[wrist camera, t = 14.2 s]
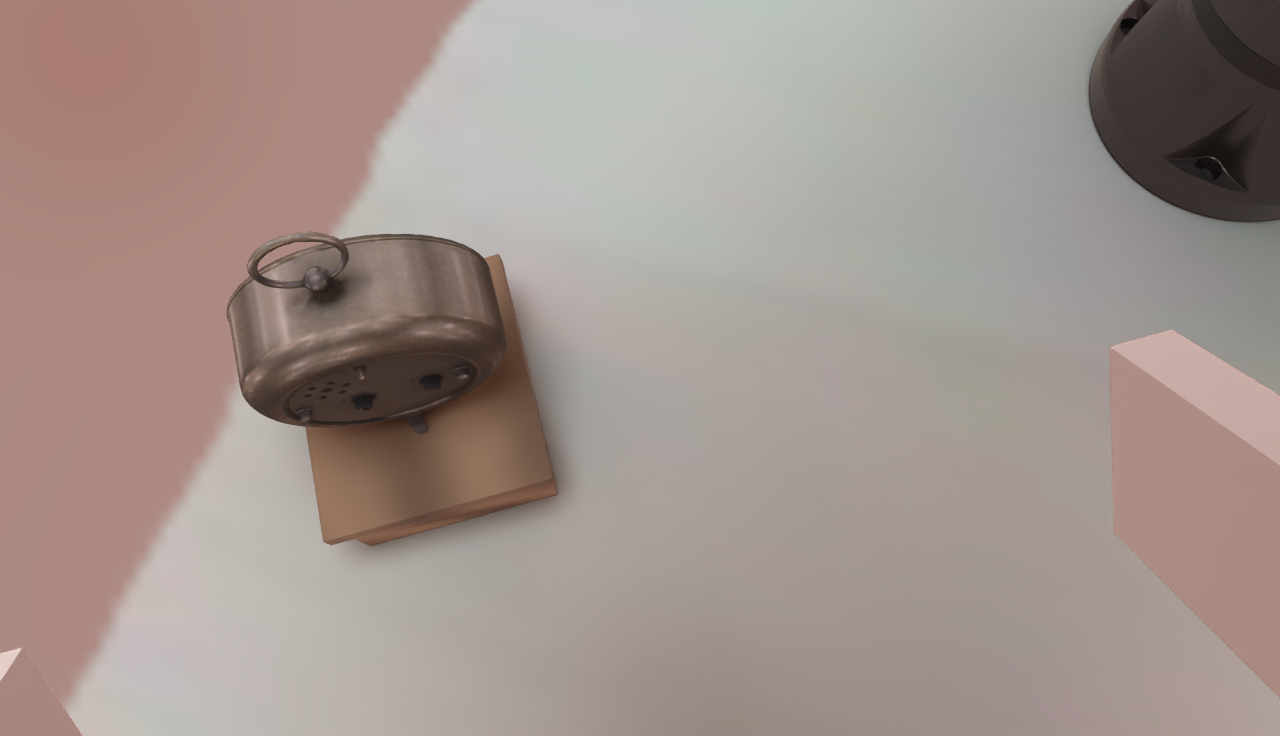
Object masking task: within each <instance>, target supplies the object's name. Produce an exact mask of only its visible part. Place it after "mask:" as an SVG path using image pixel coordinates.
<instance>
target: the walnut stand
mask: <svg viewBox="0 0 1280 736" xmlns="http://www.w3.org/2000/svg"><path fill="white" fill-rule="evenodd" d="M484 259H485V260H486V262H487V264H488V266H489V268H490V272H491V277H492V281H493V285H494V289H495V293H496V297H497V301H498V305H499V309H500V313H501V317H502V321H503V325H504V329H505V333H506V338H507V348H506V352H505V355H504V358H503V360H502V362H501V364H500V365H499V367H498V368H497V370H496V371H495V372H494V373H493V374H492V375H491V376H490V377H489V378H488V379H487V380H486V381H485V382H484V383H482V384H481V385H480V386H478V387H477V388H475V389H473V390H472V391H470V392H468V393H467V394H465V395H463V396H461V397H459V398H457V399H455V400H453V401H450V402H448V403H446V404H443V405H441V406H438V407H435V408H432V409H429V410H426V411H423V412H422V416H423V418H424V421H425V423H426V425H427V427H428V429H427V431H426V432H425V433H422V434H418V433H416V432H415V431H413V429H412V427H411V426H410V424H409V422H408V421H407V420H406V418H397V419H392V420H388V421H383V422H377V423H371V424H365V425H356V426H346V427H306V433H307V439H308V445H309V452H310V458H311V465H312V471H313V478H314V484H315V491H316V497H317V504H318V510H319V517H320V523H321V530H322V536H323V542H325V543H327V544H330V545H333V544H337V543H341V542H344V541H348V540H352V539H356V540H359V541H361V542H363V543H365V544H367V545H370V546H372V545H376V544H379V543H383V542H387V541H390V540H394V539H397V538H401V537H405V536H408V535H412V534H415V533H419V532H423V531H426V530H430V529H434V528H437V527H441V526H444V525H448V524H452V523H455V522H459V521H462V520H466V519H470V518H473V517H477V516H481V515H484V514H488V513H491V512H495V511H499V510H502V509H506V508H509V507H513V506H517V505H520V504H524V503H527V502H531V501H535V500H538V499H542V498H546V497H549V496H553V495H556V494H557V492H556V487H555V483H556V482H555V477H554V473H553V469H552V465H551V461H550V457H549V453H548V448H547V444H546V440H545V436H544V432H543V428H542V423H541V419H540V415H539V411H538V407H537V403H536V398H535V394H534V390H533V386H532V382H531V378H530V373H529V369H528V365H527V361H526V357H525V353H524V348H523V344H522V340H521V336H520V332H519V328H518V324H517V319H516V315H515V311H514V307H513V303H512V299H511V294H510V290H509V286H508V282H507V278H506V274H505V269H504V265H503V262H502V260H501V258H500V256H499V254H498V255H494V256H490V257H487V258H484Z"/></svg>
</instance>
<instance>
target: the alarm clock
mask: <svg viewBox="0 0 1280 736" xmlns="http://www.w3.org/2000/svg"><path fill="white" fill-rule="evenodd" d="M294 242H323V243H324V244H320V245H316V246H313V247H310V248H307V249H304V250H300V251H297V252H295V253H292V254H290V255H287V256H285V257H283V258H281V259H278V260H276V261H274V262H272V263H270V264H268V265H266V266H264V267H263V268H261V269H260V270H258V271H257V266H258V263H259V261H260V260H261V259H262V258H263V257H264V256H265V255H266V254H267V253H269V252H271V251H273V250H274V249H276V248H278V247H281V246H283V245H287V244H291V243H294ZM247 268H248V273H249V275H250V276H249V277H248V278H247V279H245V280H244V282H242V283H241V284H240V285H239V286H238V288H237V289H236V291H235V292H234V293H233V295H232V296H231V298H230V300H229V303H228V306H227V318H228V321H229V323H230V328H231V333H232V340H233V346H234V352H235V358H236V365H237V371H238V377H239V383H240V388H241V391H242V395H243V397H244V398H245V400H246V401H247V402H248V404H249V405H250V406H251V407H252V408H254V409H255V410H256V411H258V412H259V413H261V414H262V415H264V416H266V417H268V418H270V419H273V420H276V421H279V422H282V423H286V424H291V425H297V426H305V427H346V426H356V425H365V424H371V423H377V422H383V421H388V420H392V419H397V418H406V420H407V421H408V422H409V424H410V426H411V427H412V429H413V431H415V432H416V433H418V434H422V433H425V432H426V431H427V429H428V427H427V425H426V423H425V421H424V418H423V416H422V412H423V411H426V410H429V409H432V408H435V407H438V406H441V405H443V404H446V403H448V402H450V401H453V400H455V399H457V398H459V397H461V396H463V395H465V394H467V393H468V392H470V391H472V390H473V389H475V388H477V387H478V386H480V385H481V384H482V383H484V382H485V381H486V380H487V379H488V378H489V377H490V376H491V375H492V374H493V373H494V372H495V371H496V370H497V368H498V367H499V365H500V364H501V362H502V360H503V358H504V355H505V352H506V348H507V338H506V333H505V329H504V325H503V321H502V317H501V313H500V309H499V305H498V301H497V297H496V293H495V289H494V285H493V281H492V277H491V272H490V268H489V266H488V264H487V262H486V260H485V259H484V258H483V257H482V256H481V255H480V254H479V253H477V252H476V251H474V250H473V249H471V248H469V247H467V246H465V245H463V244H460V243H457V242H455V241H452V240H448V239H443V238H438V237H433V236H425V235H414V234H379V235H365V236H358V237H352V238H345V239H341V240H340V239H338V238H336V237H334V236H331V235H326V234H322V233H316V232H299V233H294V234H290V235H285V236H281V237H278V238H276V239H274V240H271V241H269V242H267V243H265V244H264V245H262V246H261V247H259V248H258V249H257V250H255V251H254V253H253V254H252V255H251V257H250V259H249V262H248V264H247Z"/></svg>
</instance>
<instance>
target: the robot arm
mask: <svg viewBox="0 0 1280 736" xmlns="http://www.w3.org/2000/svg"><path fill="white" fill-rule="evenodd" d="M1090 104H1091V110H1092V114H1093V117H1094V121H1095V124H1096V126H1097V129H1098V131H1099V133H1100V136H1101V137H1102V139H1103V141H1104V143H1105V145H1106V146H1107V148H1108V149H1109V151H1110V152H1111V154H1112V155H1113V156H1114V158H1115V159H1116V160H1117V161H1118V162H1119V164H1120V165H1121V166H1122V167H1123V168H1124V169H1125V170H1126V171H1127V172H1128V173H1129V174H1130V175H1131V176H1132V177H1133V178H1134V179H1136V180H1137V181H1138V182H1139V183H1141V184H1142V185H1143V186H1144V187H1146V188H1147V189H1149V190H1150V191H1152V192H1153V193H1155V194H1156V195H1158V196H1160V197H1162V198H1163V199H1165V200H1167V201H1169V202H1171V203H1173V204H1175V205H1177V206H1180V207H1182V208H1184V209H1187V210H1190V211H1193V212H1196V213H1199V214H1203V215H1206V216H1211V217H1215V218H1221V219H1227V220H1236V221H1264V220H1273V219H1279V218H1280V0H1134V1H1133V2H1132V3H1131V4H1130V5H1129V6H1128V7H1127V8H1126V9H1125V10H1124V11H1123V13H1122V14H1121V15H1120V17H1119V18H1118V19H1117V21H1116V22H1115V24H1114V26H1113V27H1112V29H1111V30H1110V32H1109V34H1108V35H1107V37H1106V39H1105V40H1104V42H1103V44H1102V45H1101V47H1100V49H1099V51H1098V53H1097V56H1096V58H1095V61H1094V64H1093V67H1092V71H1091V76H1090ZM1109 348H1110V390H1111V433H1112V475H1113V518H1114V533H1115V534H1116V535H1117V536H1118V537H1119V538H1120V539H1121V540H1122V541H1123V542H1124V543H1125V544H1126V545H1127V546H1128V547H1129V548H1130V549H1131V550H1132V551H1133V552H1134V553H1135V554H1136V555H1137V556H1138V557H1139V558H1140V559H1141V560H1142V561H1143V562H1144V563H1145V564H1146V565H1147V566H1148V567H1149V568H1150V569H1151V570H1152V571H1153V572H1154V573H1155V574H1156V575H1157V576H1158V577H1159V578H1160V579H1161V580H1162V581H1163V582H1164V583H1165V584H1166V585H1167V586H1168V587H1169V588H1170V589H1171V590H1172V591H1173V592H1174V593H1175V594H1176V595H1177V596H1178V597H1179V598H1180V599H1181V600H1182V601H1183V602H1184V603H1185V604H1186V605H1187V606H1188V607H1189V608H1190V609H1191V610H1192V611H1193V612H1194V613H1195V614H1196V615H1197V616H1198V617H1199V618H1200V619H1201V620H1202V621H1203V622H1204V623H1205V624H1206V625H1207V626H1208V627H1209V628H1210V629H1211V630H1212V631H1213V632H1214V633H1215V634H1216V635H1217V636H1218V637H1219V638H1220V639H1221V640H1222V641H1223V642H1224V643H1225V644H1226V645H1227V646H1228V647H1229V648H1230V649H1231V650H1232V651H1233V652H1234V653H1235V654H1236V655H1237V656H1238V657H1239V658H1240V659H1241V660H1242V661H1243V662H1244V663H1245V664H1246V665H1247V666H1248V667H1249V668H1250V669H1251V670H1252V671H1253V672H1254V673H1255V674H1256V675H1257V676H1258V677H1259V678H1260V679H1261V680H1262V681H1263V682H1264V683H1265V684H1266V685H1267V686H1268V687H1269V688H1270V689H1271V690H1272V691H1273V692H1274V693H1275V694H1276V695H1277V696H1278V697H1279V698H1280V395H1279V394H1277V393H1275V392H1274V391H1272V390H1270V389H1269V388H1267V387H1265V386H1264V385H1262V384H1261V383H1259V382H1257V381H1256V380H1254V379H1252V378H1251V377H1249V376H1247V375H1246V374H1244V373H1242V372H1241V371H1239V370H1238V369H1236V368H1234V367H1233V366H1231V365H1229V364H1228V363H1226V362H1224V361H1223V360H1221V359H1219V358H1218V357H1216V356H1215V355H1213V354H1211V353H1210V352H1208V351H1206V350H1205V349H1203V348H1201V347H1200V346H1198V345H1196V344H1195V343H1193V342H1191V341H1190V340H1188V339H1187V338H1185V337H1183V336H1182V335H1180V334H1178V333H1177V332H1175V331H1173V330H1172V329H1171V330H1167V331H1163V332H1160V333H1156V334H1153V335H1149V336H1145V337H1142V338H1138V339H1135V340H1131V341H1127V342H1124V343H1120V344H1116V345H1113V346H1109ZM0 736H82V734H81V733H80V731H79V730H78V728H77V727H76V725H75V724H74V722H73V721H72V719H71V718H70V716H69V715H68V713H67V712H66V711H65V709H64V708H63V706H62V705H61V703H60V702H59V700H58V699H57V697H56V696H55V694H54V693H53V691H52V690H51V688H50V687H49V686H48V684H47V683H46V681H45V680H44V678H43V677H42V675H41V674H40V673H39V671H38V669H37V668H36V666H35V665H34V663H33V662H32V661H31V659H30V658H29V656H28V655H27V653H26V652H25V650H24V649H23V648H19V649H15V650H11V651H8V652H4V653H1V654H0Z"/></svg>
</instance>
